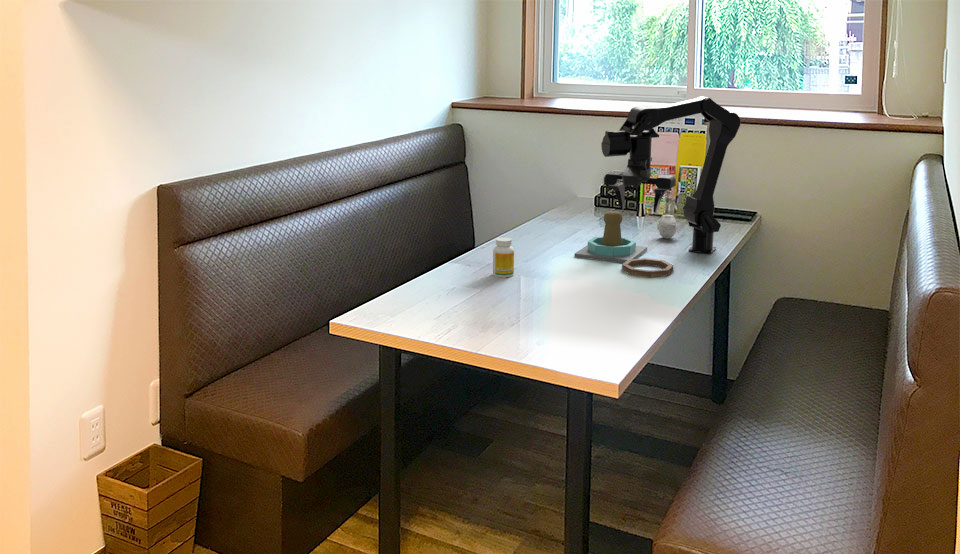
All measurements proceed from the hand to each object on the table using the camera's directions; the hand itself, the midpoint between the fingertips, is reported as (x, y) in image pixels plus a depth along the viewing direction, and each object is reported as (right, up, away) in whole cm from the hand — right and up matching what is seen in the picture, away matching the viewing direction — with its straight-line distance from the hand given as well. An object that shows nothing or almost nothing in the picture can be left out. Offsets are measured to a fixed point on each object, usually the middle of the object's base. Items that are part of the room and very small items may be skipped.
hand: (638, 211), depth 247 cm
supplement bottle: (-38, -18, -15) cm, 44 cm away
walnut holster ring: (0, -16, -11) cm, 20 cm away
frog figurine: (+13, -7, +23) cm, 27 cm away
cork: (-7, -11, +5) cm, 14 cm away
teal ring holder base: (-7, -12, +5) cm, 14 cm away
